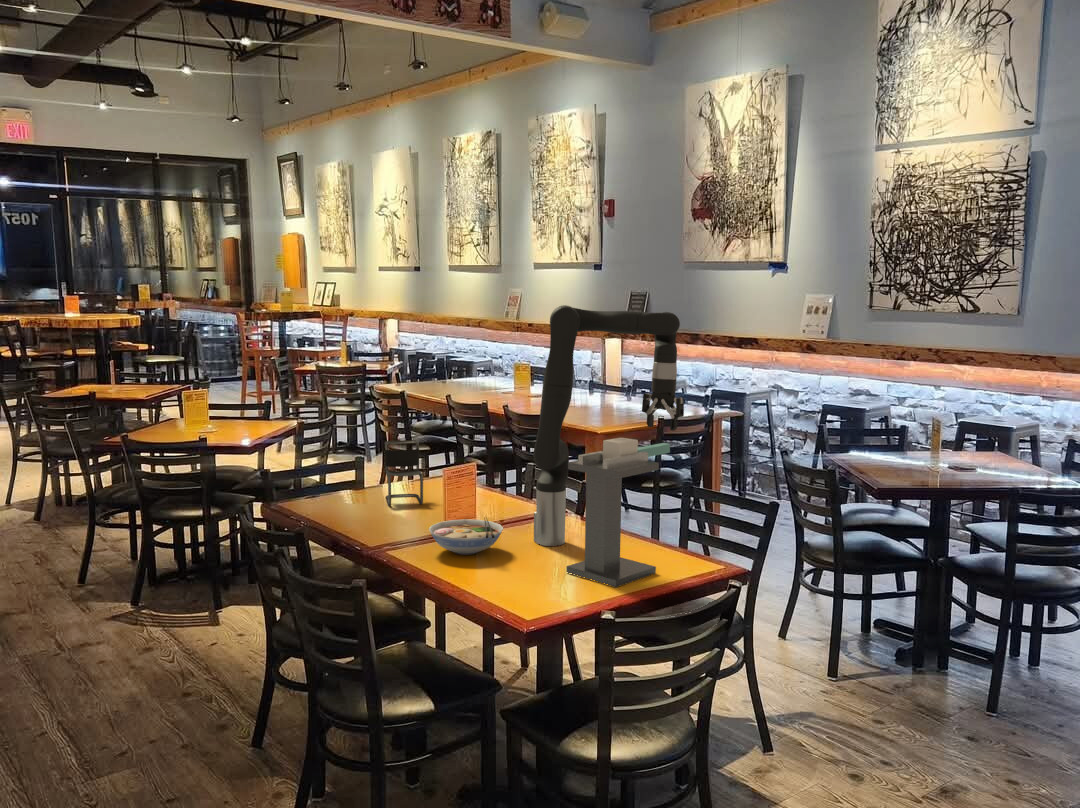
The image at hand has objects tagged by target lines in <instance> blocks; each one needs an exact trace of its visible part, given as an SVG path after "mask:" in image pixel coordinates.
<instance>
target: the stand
mask: <svg viewBox="0 0 1080 808" xmlns="http://www.w3.org/2000/svg"><path fill="white" fill-rule="evenodd" d="M659 466H660V464H659V462H656V461H650V460H649V457H648V452H639V453H634V454H628V455H623V456H618V457H613V458H607V459H603V450H599V451H595V452H593V451H592V452H589V453H583V454H578V459H577V460H574V461H569V462H568V470H570V471H575V472H581V473H585V474H586V477H585V478H586V479H585V531H584V533H585V534H584V536H585V538H584V560H583V561H579V562H575V563H573V564H569V565H566V572H568V573H572V574H575V575H578V576H581V577H580V578H582V577H585V578H588V579H592V580H595V581H598V582H597V583H599V582H601V583H600V584H602V583H605V584H608V585H607V586H609V585H611V586H610V587H612V586H614V587H613V588H619V587H621V586H620V585H622V586H624V585H627V584H630V583H633V582H635V580H636V581H639V580H641V579H644V578H647V577H650V576H652V575H651V574H653V575H655V573H656V574H657V566H655V565H650V564H647V563H644V562H639V561H635V560H632V559H627V558H624V557H622V556H621V538H622V537H621V535H622V534H621V533H622V532H621V531H622V530H621V529H622V528H621V526H622V524H621V523H622V488H623V487H622V485H623V484H622V482H623V481H622V480H623V478H624V479H625V478H627V477H632V476H637V475H641V474H645V473H651V472H656V471H659V470H660V469H659V468H660V467H659ZM568 573H567V574H568ZM575 575H574V576H575ZM649 575H650V576H649ZM578 576H577V577H578ZM646 576H647V577H646ZM643 577H644V578H643ZM585 578H584V579H585ZM640 578H641V579H640ZM588 579H587V580H588ZM638 579H639V580H638ZM592 580H591V581H592ZM595 581H594V582H595ZM632 581H633V582H632ZM626 583H627V584H626ZM605 584H604V585H605ZM623 584H624V585H623ZM618 586H619V587H618Z"/></svg>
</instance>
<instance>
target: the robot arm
mask: <svg viewBox="0 0 1080 808" xmlns="http://www.w3.org/2000/svg"><path fill="white" fill-rule="evenodd" d="M680 321H681V320H680V319H679V317H678V316H677V315H676V314H675V313H673V312H668V311H664V312H645V311H637V310H635V311H633V310H614V311H613V310H609V311H608V310H607V311H606V310H604V311H603V310H588V309H581V308H577V307H573V306H571V305H567V304H566V305H564V304H563V305H559V306H557V307H556V308H555V309H554V310H553V311H551V314H550V317H549V326H550V328H549V329H550V331H549V332H550V336H549V341H550V343H549V345H550V346H549V354H548V359H547V361H546V364H545V369H544V375H543V380H542V391H541V403H540V413H539V424H538V429H537V434H536V438H535V443H534V449H533V461H534V463H535V465H536V467H538V469H540V474H539V477H538V479H537V481H536V511H534V512H533V542H535V544H537V545H539V544H540V546H544V547H545V546H546V547H555V546H556V547H557V545H558V546H561V545H564V544H565V543H566V541H565V540H566V504H567V503H566V501H567V500H566V497H567V496H566V488H567V482H568V479H569V469H568V462H570V453H569V448H568V445H567V444H566V442H565V441H564V440H562V439H561V430H562V426H563V423H564V420H565V418H566V415H567V412H568V410H569V408H570V406H571V400H572V396H573V395H572V394H573V385H574V353H575V352H574V350H575V346H576V340H577V336H578V333H579V332H605V333H614V334H620V335H621V334H625V335H654V350H653V352H654V353H653V365H652V371H651V373H652V375H651V391H652V393H650V392H648V393H646V392H645V393H643V394H642V395H643V396H642V405H641V412H642V413H645V414H646V425H647V427H648V428H653V427H654V422H655V415H654V414H655V412H657V410H664V411H666V412H667V413H668V414H669V416H670V423H669V426H670V427H669V430H670V431H674V432H675V431H676V430H678V420H679V418H683V417H684V416H685V398H684V397H676V396H675V395H676V391H677V376H678V366H677V361H678V359H677V358H678V348H677V344H676V343H677V332H678V330H679V328H680V326H681V323H680ZM651 401H652V403H651Z"/></svg>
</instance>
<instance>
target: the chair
mask: <svg viewBox="0 0 1080 808" xmlns="http://www.w3.org/2000/svg"><path fill="white" fill-rule="evenodd" d="M394 444H415V449H409V450H401V451H400V450H389V445H394ZM384 466H385V467H384V469H385V474H386V477H387V487H388V488H387V495H386V496H385V501H386V503H387V506H388V507H390V506H391V505H392V498H407V497H408V498H409V497H412V498H416V499H417V501H418V503H419V504H420V505H423V503H424V477H423V474H422V471H421V470H420V443H419V441H418V440H414V439H413V440H412V439H411V440H410V439H409V440H408V439H407V440H386V441H384ZM389 467H394V468H397V467H398V468H403V467H404V468H406V467H416V469H412V470H404V471H403V470H400V471H399V470H398V471H397V470H389ZM391 476H393V477H411V476H419V486H420V487H419V490H420V491H419V492H420V493H419V494H416V493H404V494H403V493H400V494H399V493H398V494H392V477H391Z"/></svg>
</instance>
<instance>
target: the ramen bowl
mask: <svg viewBox="0 0 1080 808" xmlns="http://www.w3.org/2000/svg"><path fill="white" fill-rule="evenodd" d="M483 519H484V520H483ZM483 519H467V518H465V519H450V520H445V521H440V522H436V523H434V524H432V525H431V526H430V527H428V531H429V533H430V535H431V536H432V538H433V539H434V540H435V543H437V544H438V546H439V547H441V548H442V549H444V550H447V551H450V552H453V553H454V554H457V555H461V556H462V555H463V556H464V555H465V556H468V555H476V554H478V553H479V552H482V551H484V550H487V549H489V548H491V547H492V546H493V545H494V544H495V543H496V542H497V541H498V539H499V537H500V536H501V534H502V532H503V530H504V527H503V526H502V525H501V524H500V523H497V522H495V521H490V520H488V517H486V516H485V517H484V518H483Z"/></svg>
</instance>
